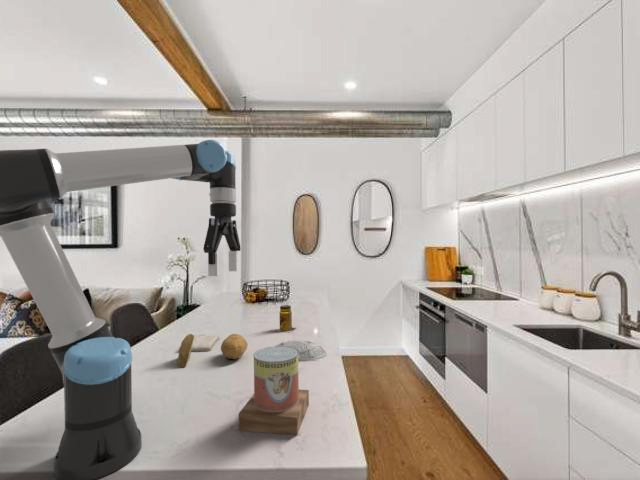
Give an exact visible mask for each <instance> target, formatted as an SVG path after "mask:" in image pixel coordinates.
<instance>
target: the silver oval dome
mask: <svg viewBox="0 0 640 480" xmlns="http://www.w3.org/2000/svg"><path fill="white" fill-rule="evenodd" d="M275 346H284V347H291V348H294V349H296V350H297V351H298V352H299V354H298V362H303V363H306V362H312V361H320V360H323V359H325V358H327V355H328V354H327V351H326V350H325V348H324V347H323V346H322V345H321V344H320V343H317V342H315V341H312V340H309V339H307V340H303V339H301V340H300V339H298V340H297V339H296V340H288V341H282V342H280V343H278V344H276V345H274V346H273V347H275Z"/></svg>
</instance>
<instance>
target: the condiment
mask: <svg viewBox="0 0 640 480" xmlns="http://www.w3.org/2000/svg"><path fill="white" fill-rule="evenodd" d="M279 307H280V308H279V329H278V330H277V332H282V333H291V332H293V331H294V330H296V329H297V327H293V322H292V321H293V314H292V313H293V312H292V306H291V305H290V304H286V305H285V304H284V305H280V306H279Z"/></svg>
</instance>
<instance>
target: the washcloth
mask: <svg viewBox="0 0 640 480" xmlns="http://www.w3.org/2000/svg"><path fill="white" fill-rule="evenodd" d="M219 340H221V339H220V334H211V335H210V334H209V335H208V334H207V335H206V334H199V335H197V334H196V335H194V340H193V344H192V349H191V353H192V352H198V351H199V352H211V351H212V350H213V348H214V347H215V346H216V344H217V343H218V342H219Z"/></svg>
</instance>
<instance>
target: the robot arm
mask: <svg viewBox="0 0 640 480" xmlns="http://www.w3.org/2000/svg"><path fill="white" fill-rule="evenodd" d="M236 168H237V166H236V159H235V154H233V153H232V152H231V151H229V150H228V151H227V150H226V149H225V147H224V145H222V144H221V143H220V142H219V141H217V140H216V139H215V140H214V139H206V140H202V141H201V142H199V143H189V144H187V143H186V144H176V145H161V146H148V147H143V146H142V147H130V148H115V149H101V150H87V151H73V152H72V151H71V152H58V153H56V152H53V151H52V150H50V149H48V148H37V149H35V148H34V149H28V148H27V149H4V150H3V149H2V150H1V149H0V238H1V239H2V241H3V243H4V246H5V247H6V249H7V251H8V252H9V255H10V256H11V259H12V261H13V262H14V265H15V266H16V269H17V270H18V272H19V274H20V276H21V279H22V280H23V282H24V283H25V286H26V287H27V289H28V291H29V293H30V295H31V297H32V299H33V300H34V303H35V305H36V306H37V308H38V311H39V312H40V314H41V316H42V319H43V321H44V322H45V325H46V326H47V327H48V329H49V332H50V333H51V337H50V341H49V342H48V344H47V346H48V349H49V350H50V353H51V355H52V356H53V358H54V360H55V362H56V364H57V366H58V368H59V370H60V372H61V375H62V383H63V393H64V396H63V397H64V398H63V399H64V401H63V402H64V431H63V433H62V437H61V440H60V442H59V445H58V451H57V452H56V454H55V456H54V459H53V474H54V477H55V478H56V479H57V480H96V479H99V478H102V477H105V476H107V475H110V474H112V473H114V472H116V471H118V470H120V469H122V468H123V467H124V466H126V465H128V464H129V463H131V462H132V460H134V459H135V458H136V457H137V456H138V455H139V453H140V451H141V450H142V447H143V446H142V445H143V444H142V442H143V441H142V432H141V430H140V429H139V428H138V425H137V422H136V419H135V416H134V414H133V409H132V407H133V398H132V397H133V395H132V394H133V392H132V390H133V389H132V386H133V385H132V384H133V383H132V362H133V353H132V348H131V345H130V342H128V341H127V340H125V339H123V338H120V337H115V336H113V334H112V332H111V330H110V328H109V326H108V323H107V321H106V320H105V319H102V318H99V317H96V316H95V314H94V312H93V309H92V308H91V306H90V303H89V301H88V299H87V297H86V295H85V294H84V291H83V289H82V286H81V285H80V283H79V280H78V279H77V276H76V275H75V273H74V271H73V268H72V266H71V264H70V262H69V259H68V258H67V256H66V254H65V251H64V250H63V246H61V243H60V241H59V239H58V237H57V235H56V233H55V231H54V229H53V226H52V225H51V223H52V220H53V219H54V217H55V212H54V209H53V208H52V206H51V203H50V202H49V201H51V200H57V199H62V198H63V197H64V196H66V194H67V193H69V192H71V193H72V192H78V191H84V190H85V191H86V190H93V189H99V188H107V187H114V186H116V187H117V186H122V185H130V184H138V183H144V182H153V181H160V180H168V179H172V180H178V181H189V182H199V183H200V182H201V183H202V182H203V183H209V193H208V194H209V202H211V203H210V204H209V205H210V206H209V211H210V212H209V214H210V216H211V217H210V218H208V226H207V231H206V235H205V240H204V244H203V252H204V253H205V254H206V253H207V262H208V263H207V264H208V266H207V267H208V271H207V273H208V277H218V276H219V275H220V274H219V272H220V271H219V269H220V268H219V252H218V249H219V246H220V243H221V241H222V238H223V236H224V238H225V241H226V243H227V246H228V249H229V250H228V272H238V270H239V268H238V266H239V264H238V252H240V251H241V243H240V238H239V234H238V227H237V220H235V219H234V220H232V218H233V217H234V218H235V217H236V216H237V204H236V202H237V194H236V193H237V191H236V190H237V189H236V170H237V169H236Z"/></svg>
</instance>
